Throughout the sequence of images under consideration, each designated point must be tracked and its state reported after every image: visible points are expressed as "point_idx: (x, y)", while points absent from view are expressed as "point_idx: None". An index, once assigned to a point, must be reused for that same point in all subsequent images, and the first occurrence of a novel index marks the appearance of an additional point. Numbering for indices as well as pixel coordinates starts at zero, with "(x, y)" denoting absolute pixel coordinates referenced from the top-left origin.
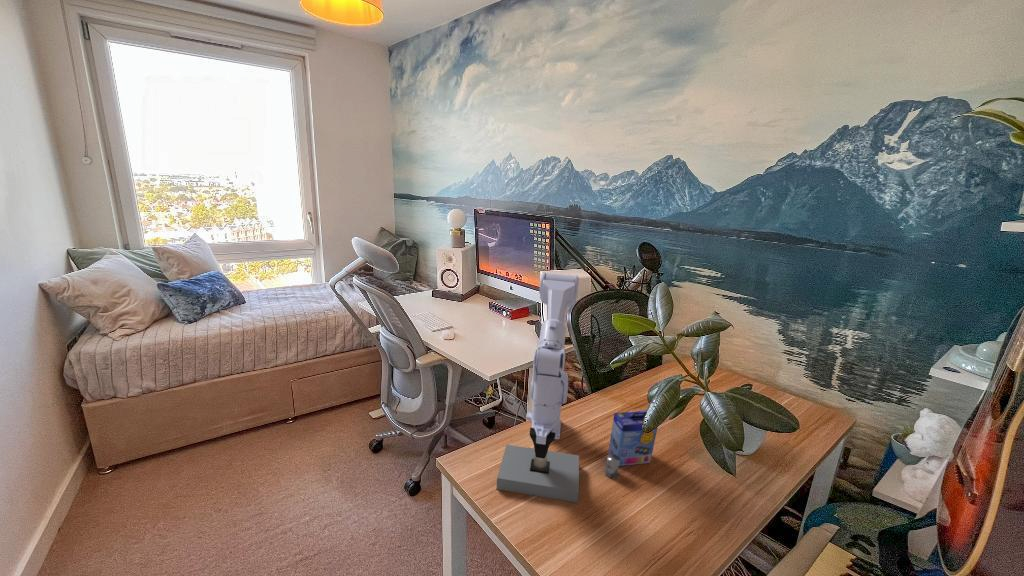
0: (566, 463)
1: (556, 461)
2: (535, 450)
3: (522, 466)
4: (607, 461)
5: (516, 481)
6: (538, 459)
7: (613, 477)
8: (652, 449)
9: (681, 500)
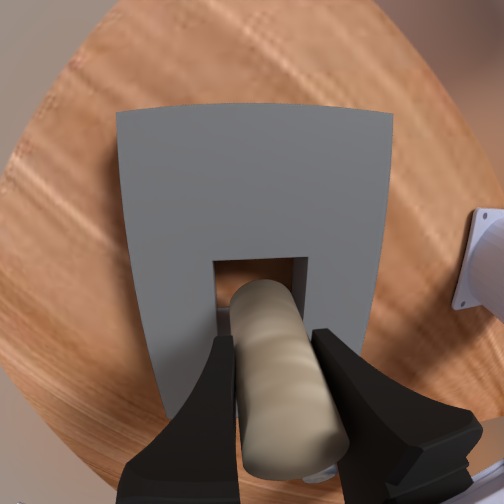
0: None
1: None
2: (205, 368)
3: (238, 221)
4: None
5: (124, 212)
6: (233, 331)
7: None
8: None
9: (253, 500)
